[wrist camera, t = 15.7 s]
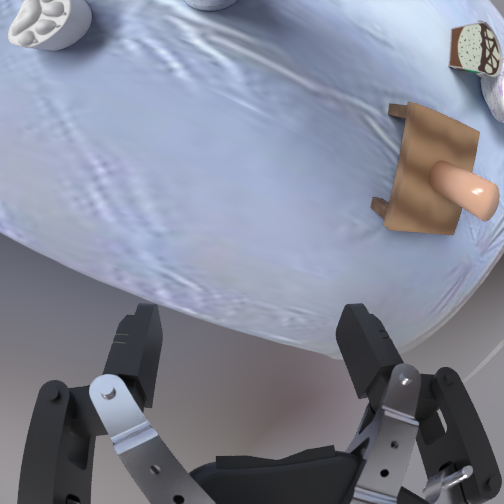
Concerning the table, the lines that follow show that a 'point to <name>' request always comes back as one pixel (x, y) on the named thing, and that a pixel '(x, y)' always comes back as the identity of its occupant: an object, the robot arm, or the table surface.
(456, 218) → the footstool
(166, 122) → the table surface
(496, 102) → the paper bowls
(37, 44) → the lumpy-topped squat cylinder
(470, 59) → the food container
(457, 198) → the peach rounded cylinder
